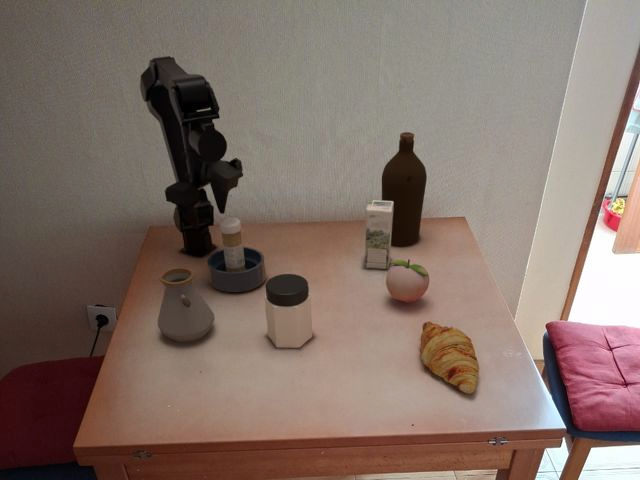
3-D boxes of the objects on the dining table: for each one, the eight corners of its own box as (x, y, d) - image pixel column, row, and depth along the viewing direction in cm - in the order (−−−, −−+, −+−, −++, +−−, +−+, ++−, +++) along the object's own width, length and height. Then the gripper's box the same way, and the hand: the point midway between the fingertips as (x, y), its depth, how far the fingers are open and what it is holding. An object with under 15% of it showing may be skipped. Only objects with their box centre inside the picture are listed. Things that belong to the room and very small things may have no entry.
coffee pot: (156, 322, 128) (141, 256, 118) (210, 312, 131) (199, 247, 121) (171, 381, 113) (154, 312, 103) (231, 369, 116) (221, 299, 106)
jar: (318, 342, 122) (316, 289, 114) (280, 353, 119) (276, 299, 111) (299, 321, 128) (296, 268, 120) (263, 331, 125) (258, 278, 117)
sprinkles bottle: (239, 270, 143) (232, 215, 134) (250, 277, 140) (244, 221, 131) (223, 277, 141) (215, 220, 132) (233, 284, 138) (226, 227, 129)
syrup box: (390, 259, 147) (394, 199, 137) (388, 270, 143) (391, 210, 133) (367, 257, 148) (368, 198, 138) (364, 269, 144) (365, 209, 134)
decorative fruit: (377, 307, 131) (379, 264, 124) (391, 289, 136) (393, 247, 130) (419, 316, 128) (424, 273, 121) (431, 298, 133) (436, 255, 127)
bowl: (199, 286, 139) (195, 265, 136) (232, 262, 147) (229, 242, 144) (244, 299, 134) (242, 278, 131) (276, 274, 143) (274, 254, 139)
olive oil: (429, 239, 154) (440, 134, 137) (398, 252, 150) (406, 145, 133) (401, 225, 161) (408, 124, 144) (370, 237, 156) (374, 133, 139)
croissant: (482, 409, 111) (509, 375, 106) (440, 399, 106) (466, 363, 102) (435, 344, 125) (456, 311, 121) (396, 332, 120) (417, 298, 116)
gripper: (201, 168, 115) (212, 245, 125) (257, 139, 127) (263, 212, 137) (156, 159, 119) (171, 234, 130) (214, 131, 131) (223, 203, 142)
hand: (209, 221), depth 134 cm, fingers open, 9 cm apart
